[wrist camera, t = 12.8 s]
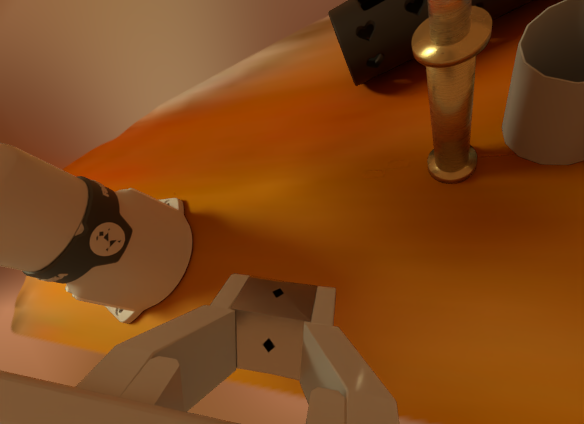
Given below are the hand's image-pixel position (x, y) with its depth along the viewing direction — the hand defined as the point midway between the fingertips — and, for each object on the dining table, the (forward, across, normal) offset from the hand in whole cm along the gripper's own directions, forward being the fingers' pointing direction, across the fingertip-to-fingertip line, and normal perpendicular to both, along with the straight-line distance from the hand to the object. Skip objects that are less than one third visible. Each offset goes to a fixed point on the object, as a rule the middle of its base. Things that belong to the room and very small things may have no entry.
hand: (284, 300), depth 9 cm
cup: (+26, -20, -4) cm, 34 cm away
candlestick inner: (+26, -12, 0) cm, 29 cm away
